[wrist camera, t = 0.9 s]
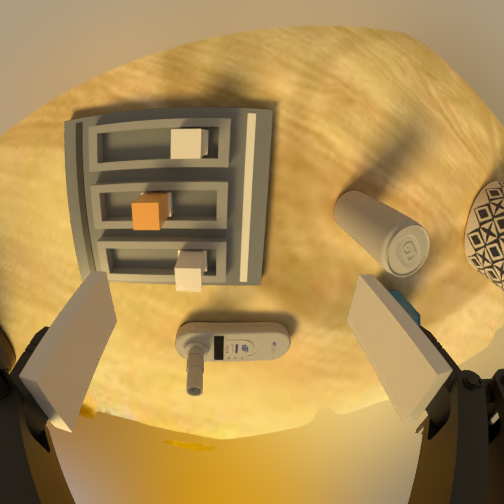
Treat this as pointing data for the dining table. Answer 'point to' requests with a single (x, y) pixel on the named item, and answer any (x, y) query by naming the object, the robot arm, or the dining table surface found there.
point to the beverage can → (383, 233)
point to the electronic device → (227, 345)
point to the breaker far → (190, 269)
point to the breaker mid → (152, 210)
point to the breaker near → (189, 143)
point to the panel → (169, 179)
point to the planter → (487, 233)
